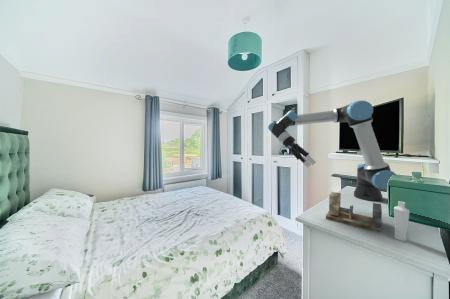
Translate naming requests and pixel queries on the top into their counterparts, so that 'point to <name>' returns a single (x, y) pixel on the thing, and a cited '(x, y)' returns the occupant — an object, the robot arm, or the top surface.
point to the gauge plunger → (336, 204)
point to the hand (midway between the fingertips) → (311, 164)
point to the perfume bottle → (401, 221)
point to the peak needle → (350, 212)
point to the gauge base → (361, 219)
